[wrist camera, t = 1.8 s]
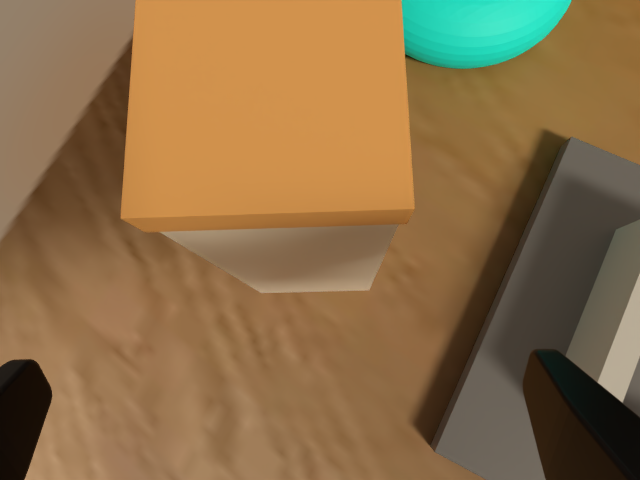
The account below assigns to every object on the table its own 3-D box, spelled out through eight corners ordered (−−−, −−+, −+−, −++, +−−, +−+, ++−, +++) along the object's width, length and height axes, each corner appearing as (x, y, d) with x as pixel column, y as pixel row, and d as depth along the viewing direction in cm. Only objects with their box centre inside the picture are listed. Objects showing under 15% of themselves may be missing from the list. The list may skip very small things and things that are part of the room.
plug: (371, 292, 20) (415, 208, 8) (259, 295, 21) (120, 218, 8) (367, 184, 21) (398, -48, 9) (259, 188, 22) (137, -32, 9)
